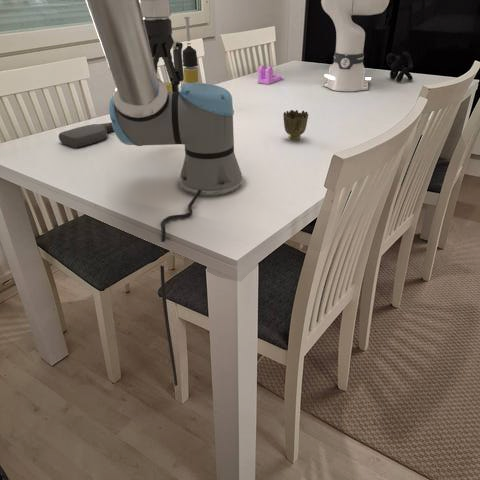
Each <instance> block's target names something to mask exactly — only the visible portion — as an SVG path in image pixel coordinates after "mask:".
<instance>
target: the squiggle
mask: <svg viewBox="0 0 480 480" xmlns="http://www.w3.org/2000/svg"><path fill="white" fill-rule="evenodd" d="M401 57H402V59H401ZM391 59H392V60H391ZM393 60H394V61H393ZM385 61H386V64H387V67H390V68H391V70H390V72H389V78H390V79H391V80H395V79H396V81H397V82H399V83H400V82H402V81H403V79H404V76H406V78H407V80H408V81H412V80H413V79H414V77H413V75H412V74H411V73H410V72H409V71H410V70H412V69H413V68H414V64H413V61H412V57H411V54H410V53H409V52H408V51H403V53H402V54H401V55H396V54H394V53H392V52H390V53H387V55H386V57H385ZM406 62H407V65H408V66H407V67H405V66H404V65H405V64H406ZM400 70H401V71H400Z"/></svg>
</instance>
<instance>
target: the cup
mask: <svg viewBox="0 0 480 480" xmlns="http://www.w3.org/2000/svg"><path fill="white" fill-rule="evenodd" d="M282 116H283V126H284V131H285V133H286V134H287V135H288V138H289V139H288V140H290V141H295V142H296V141H299V140H301V138H302V136H301V135H303V134H304V133H305V132H306V129H307V124H308V119H309V113H308V111H305V110H302V111H301V112H299V110H297V109H296V110H293V109H290V110H289V111H288V110H287V111H284V112H283V115H282Z"/></svg>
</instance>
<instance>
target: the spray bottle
mask: <svg viewBox="0 0 480 480" xmlns="http://www.w3.org/2000/svg"><path fill="white" fill-rule="evenodd" d="M109 132H114V130H113V127H112V122H105V123H104V122H103V123H93V124H87V125H82V126H78V127H75V128H71V129H68V130H64V131H61V132H60V133H59V134H58V139H59V141H60V143H61V144H64V145H67V146H70V147H72V148H80V147H85V146H89V145H92V144H95V143H99V142H101V141H103V140H105V139H106V138H107V136H108V133H109Z"/></svg>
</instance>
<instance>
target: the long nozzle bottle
mask: <svg viewBox="0 0 480 480" xmlns="http://www.w3.org/2000/svg"><path fill="white" fill-rule="evenodd" d="M183 18H184V20H185V21H184V22H185V32H186V34H185V35H186V37H185V38H186V42H188V43H186V45H187V46H186V47H185V48H184V49H182V64H183V76H184V80H183V81H184V84H187V83H191V84H192V83H200V82H199V68H198V66H199V64H198V55H197V50H196V49H195V48H193V47H192V46H191V44H192V43H189V42H191V34H190V33H191V32H190V19H191V17H190V16H184V17H183Z"/></svg>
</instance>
